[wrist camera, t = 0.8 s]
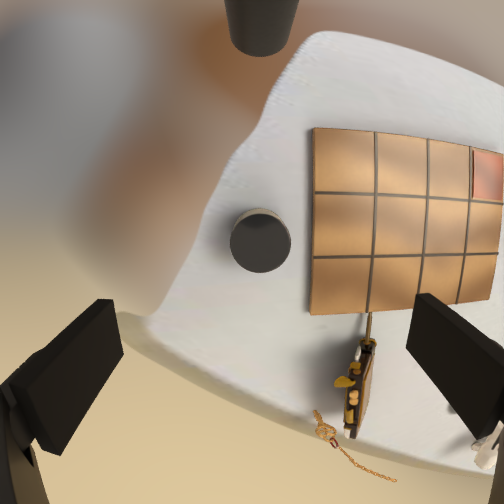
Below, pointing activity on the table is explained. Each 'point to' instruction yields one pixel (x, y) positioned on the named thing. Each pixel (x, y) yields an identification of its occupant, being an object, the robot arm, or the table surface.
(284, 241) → the dark grey short cylinder
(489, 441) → the white lumpy sculpture
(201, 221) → the table surface
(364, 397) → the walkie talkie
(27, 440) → the robot arm
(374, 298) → the game board
